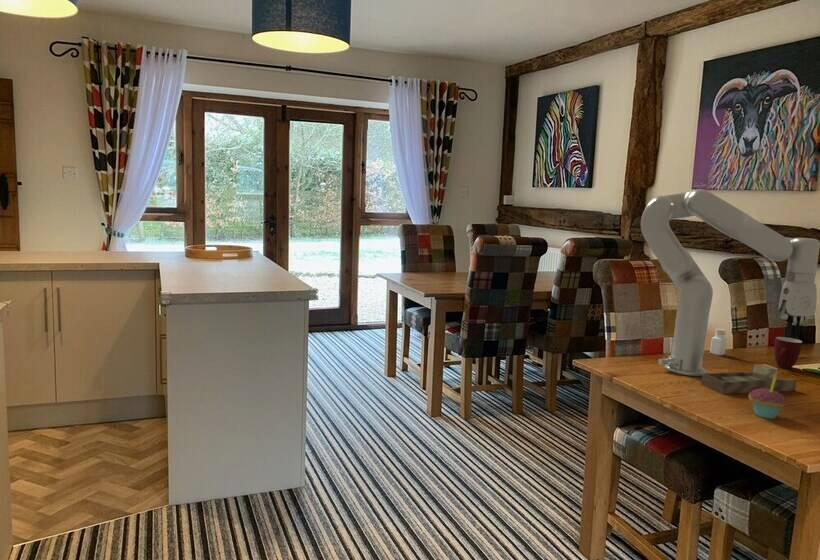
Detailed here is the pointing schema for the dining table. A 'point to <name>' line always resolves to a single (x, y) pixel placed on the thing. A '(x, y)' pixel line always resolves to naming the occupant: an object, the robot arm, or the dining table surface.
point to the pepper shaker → (718, 343)
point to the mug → (787, 351)
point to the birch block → (764, 372)
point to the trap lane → (743, 382)
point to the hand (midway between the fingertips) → (792, 336)
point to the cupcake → (767, 401)
